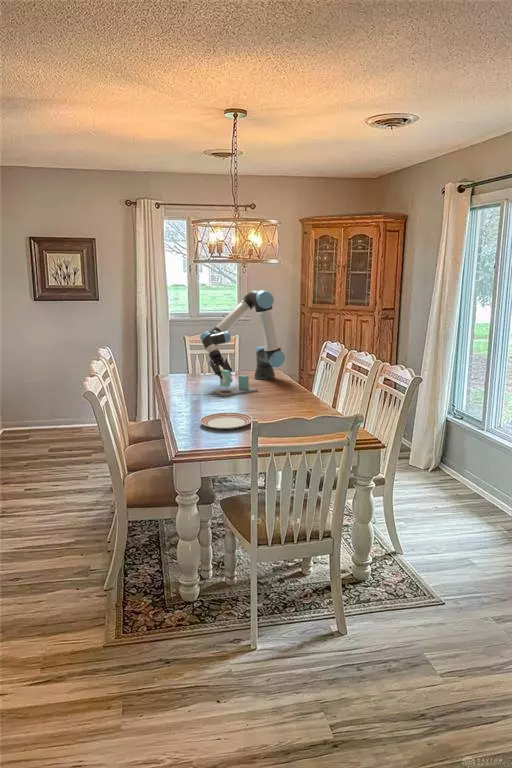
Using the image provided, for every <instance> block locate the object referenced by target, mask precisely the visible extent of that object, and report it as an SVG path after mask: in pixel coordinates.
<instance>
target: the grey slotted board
mask: <svg viewBox="0 0 512 768" xmlns="http://www.w3.org/2000/svg"><path fill="white" fill-rule="evenodd" d="M256 392H257V393H258V389H257V388H253V387H250V386H249V389H246V390H241V389H239V386H237V387H231V388H224V389H219V390H213V391H212V392H211V394H214V395H217V396H220V397H223V398H226V397H227V398H228V397H233V396H238V395H244V394H249V393H256Z"/></svg>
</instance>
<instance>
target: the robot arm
mask: <svg viewBox="0 0 512 768" xmlns="http://www.w3.org/2000/svg"><path fill="white" fill-rule="evenodd" d="M274 302H275V298H274V296H273V294H272V293H271V292H270V291H269V290H268V291H267V290H263V289H260V290H259V289H253V290H251V291H250V292H248V293H246V294H245V296H243V297H242V298H241V299H240V301H239V304H237V305H236V306H235V307H234V308H233V309H232V310H231V311H230V312H229V313H228V314H227V315H226V316H225V317H224V318H223V319H222V320H221V321H220V322H219V323H218V324H216V325H215V326H214V328H213V329H210V330H208V331H205V332H202V333H201V334H200V336H199V339H200V341H201V344H202V345H203V347H204V348H205V351H206V354H207V355H208V357H209V359H210V360H209V362H208V364H209V365H210V367H211V369H212V371H213V373H214V375H215V376H216V375H217V377H219V379H222V381H223V383H224V384H225V383H226V379H225V377H224V375H223V373H221V371H220V370H221V367H222V370H229V371H230V384H231V383H233V382H234V378H233V375H232V371H233V369H232V367H231V365H230V364H229V362H228V361H229V360H228V358H226V359H225V358H223V356H222V353H221V351H220V350H219V347H218V345H223V344H228V343H230V342H231V339H232V336H231V334H230V332H229V331H228V330H230V329H231V327H232V326H234V324H236V323H237V322H238V321H239V320H240V319H242V317H243V316H244V315H245V314H246V313H247V312H249V311H251V310H252V309H253V308H254V309H255V313H257V314H258V316H259V317H258V318H259V322H260V327H261V333H262V337H263V341H264V346H258V347H257V348H256V368H255V373H254V375H253V377H254V379H256V380H264V381H265V380H268V381H269V380H274V379H275V378H276V373H275V370H274V368H279V367H281V366H283V365H284V364H285V360H286V355H285V354H284V352H283V351H282V349H281V345H279V344H278V339H277V334H276V329H275V324H274V320H273V315H272V310H273V309H274V308H273V305H274Z"/></svg>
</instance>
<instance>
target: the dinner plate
mask: <svg viewBox="0 0 512 768" xmlns="http://www.w3.org/2000/svg"><path fill="white" fill-rule="evenodd" d="M252 422H253V417H252V416H251V415H249V414H246V413H240V412H216V413H212V414H207V415H205V416H203V417H202V418H200V420H199V423H200V424H201V425H203V426H204V427H207V428H212V429H214V428H215V430H221V429H229V430H236V429H235V428H237V429H240V428H242V427H245V426H248V425H250V424H251V423H252ZM239 427H240V428H239Z"/></svg>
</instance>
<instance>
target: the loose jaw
mask: <svg viewBox="0 0 512 768" xmlns="http://www.w3.org/2000/svg"><path fill="white" fill-rule="evenodd" d="M220 371H221V373H223V375H224V377H225V379H226V383H225V384H224V383H223V381H222V379H220V378H219V379H220V381H219V384H220V385H219V386H220V387H223V388H227V387H228V388H229V387H231V382H230V371H229V370H224V369H220Z"/></svg>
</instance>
